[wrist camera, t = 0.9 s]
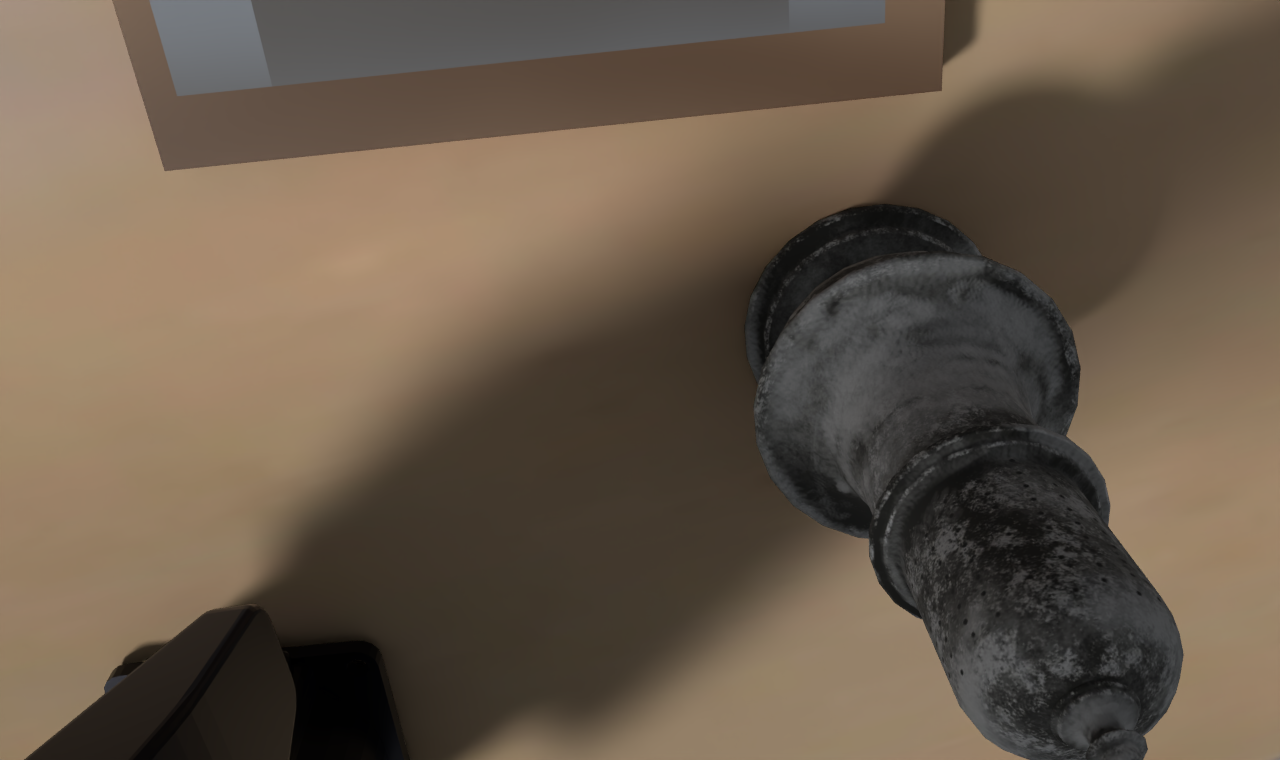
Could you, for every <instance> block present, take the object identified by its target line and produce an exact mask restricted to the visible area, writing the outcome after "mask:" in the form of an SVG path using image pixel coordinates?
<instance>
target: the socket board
mask: <svg viewBox="0 0 1280 760" xmlns="http://www.w3.org/2000/svg"><path fill="white" fill-rule="evenodd" d="M112 1H113V4H114V7H115V11H116V14H117V17H118V20H119V24H120V27H121V30H122V33H123V37H124V40H125V43H126V46H127V50H128V53H129V56H130V59H131V63H132V66H133V69H134V72H135V76H136V79H137V82H138V85H139V89H140V92H141V95H142V98H143V102H144V105H145V108H146V111H147V115H148V118H149V121H150V125H151V128H152V131H153V134H154V138H155V141H156V144H157V147H158V151H159V154H160V157H161V160H162V164H163V167H164V170H165V171H170V170H179V169H189V168H199V167H208V166H218V165H228V164H237V163H247V162H257V161H266V160H276V159H286V158H295V157H305V156H315V155H324V154H334V153H344V152H353V151H363V150H373V149H382V148H392V147H402V146H411V145H421V144H431V143H440V142H450V141H460V140H469V139H479V138H489V137H498V136H508V135H518V134H527V133H537V132H547V131H556V130H566V129H576V128H586V127H595V126H605V125H615V124H624V123H634V122H644V121H653V120H663V119H673V118H682V117H692V116H702V115H711V114H721V113H731V112H740V111H750V110H760V109H769V108H779V107H789V106H798V105H808V104H818V103H827V102H837V101H847V100H856V99H866V98H876V97H885V96H895V95H905V94H914V93H924V92H934V91H942V68H943V42H944V17H945V0H112Z"/></svg>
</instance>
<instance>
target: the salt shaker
mask: <svg viewBox="0 0 1280 760" xmlns="http://www.w3.org/2000/svg"><path fill="white" fill-rule="evenodd" d="M745 339H746V351H747V358H748V361H749V363H750V366H751V368H752V371H753V374H754V376H755V379H756V381H757V384H758V388H757V393H756V397H755V402H754V419H755V431H756V443H757V446H758V449H759V451H760V454H761V456H762V459H763V461H764V463H765V466H766V468H767V471H768V473H769V476H770V478H771V479H772V481H773V482H774V483H775V484H776V485H777V487H778V488H779V489H780V490H781V492H782V493H783V494H784V495H785V496H786V498H787V499H788V500H789V501H790V502H791V504H792V505H793V506H795V507H796V508H798V509H799V510H801V511H802V512H804V513H805V514H807V515H808V516H809V517H811V518H812V519H814V520H815V521H817V522H818V523H820V524H821V525H823V526H826V527H829V528H832V529H835V530H838V531H840V532H843V533H846V534H849V535H852V536H855V537H858V538H868V539H869V557H870V560H871V562H872V565H873V568H874V571H875V573H876V576H877V579H878V582H879V584H880V585H881V586H882V587H883V589H884V590H885V591H886V592H887V594H888V595H889V596H890V597H891V599H892V600H893V601H894V602H895V603H896V604H897V605H899V606H900V607H902V608H903V609H905V610H906V611H908V612H909V613H911V614H912V615H913V616H915V617H917V618H920V619H923V622H924V624H925V626H926V629H927V631H928V633H929V636H930V638H931V640H932V643H933V645H934V647H935V650H936V652H937V654H938V657H939V659H940V661H941V664H942V666H943V668H944V671H945V673H946V675H947V678H948V680H949V682H950V685H951V687H952V689H953V692H954V694H955V696H956V699H957V701H958V703H959V706H960V707H961V708H962V710H963V711H964V712H965V713H966V715H967V716H968V717H969V718H970V720H971V721H972V722H973V723H974V725H975V726H976V727H977V728H978V730H979V731H980V732H981V733H982V735H983V736H984V737H985V738H986V739H988V740H989V741H991V742H992V743H994V744H995V745H997V746H998V747H1000V748H1001V749H1003V750H1005V751H1007V752H1010V753H1013V754H1015V755H1018V756H1020V757H1023V758H1026V759H1030V760H1143V758H1144V756H1145V754H1146V752H1147V750H1148V748H1147V744H1146V739H1145V738H1144V737H1143V736H1144V735H1145V734H1146V733H1148V732H1149V731H1150V730H1151V729H1152V728H1153V727H1154V726H1155V725H1156V724H1157V722H1158V721H1159V720H1160V719H1161V718H1162V716H1163V715H1164V714H1165V713H1166V712H1167V710H1168V708H1169V706H1170V704H1171V701H1172V699H1173V697H1174V695H1175V693H1176V690H1177V686H1178V683H1179V679H1180V674H1181V667H1182V661H1183V649H1182V644H1181V639H1180V634H1179V631H1178V628H1177V626H1176V623H1175V620H1174V618H1173V615H1172V613H1171V612H1170V610H1169V609H1168V607H1167V606H1166V604H1165V602H1164V601H1163V599H1162V598H1161V596H1160V595H1159V593H1158V592H1157V591H1156V589H1155V588H1154V587H1153V585H1152V584H1151V583H1150V581H1149V580H1148V579H1147V578H1146V576H1145V575H1144V574H1143V572H1142V571H1141V570H1140V568H1139V567H1138V566H1137V564H1136V563H1135V562H1134V560H1133V559H1132V558H1131V556H1130V555H1129V554H1128V552H1127V551H1126V550H1125V548H1124V547H1123V546H1122V544H1121V543H1120V542H1119V540H1118V539H1117V538H1116V536H1115V535H1114V534H1113V532H1112V531H1111V530H1110V528H1109V527H1108V523H1109V513H1110V501H1109V497H1108V492H1107V488H1106V483H1105V479H1104V478H1103V476H1102V475H1101V473H1100V471H1099V470H1098V468H1097V467H1096V465H1095V463H1094V462H1093V460H1092V459H1091V457H1090V456H1089V455H1088V454H1087V453H1086V452H1085V451H1083V450H1082V449H1081V448H1080V447H1079V446H1077V445H1076V444H1075V443H1074V442H1072V441H1071V440H1070V439H1069V438H1067V437H1066V434H1067V432H1068V429H1069V426H1070V424H1071V421H1072V418H1073V416H1074V413H1075V410H1076V408H1077V404H1078V392H1079V380H1080V364H1079V359H1078V355H1077V350H1076V346H1075V341H1074V337H1073V333H1072V330H1071V329H1070V327H1069V326H1068V324H1067V322H1066V321H1065V319H1064V317H1063V316H1062V314H1061V312H1060V311H1059V309H1058V307H1057V306H1056V304H1055V303H1054V301H1053V299H1052V298H1051V297H1049V296H1048V295H1047V294H1046V293H1045V292H1043V291H1042V290H1041V289H1040V288H1039V287H1038V286H1036V285H1035V284H1034V283H1033V282H1032V281H1030V280H1029V279H1028V278H1027V277H1026V276H1025V275H1023V274H1022V273H1021V272H1019V271H1017V270H1014V269H1012V268H1010V267H1007V266H1005V265H1002V264H1000V263H998V262H995V261H993V260H991V259H988V258H986V257H984V256H982V255H981V254H980V252H979V250H978V249H977V247H976V246H975V244H974V243H973V242H972V241H971V240H970V239H969V238H968V237H967V236H965V235H964V234H963V233H962V232H961V231H959V230H958V229H957V228H956V227H955V226H954V225H952V224H951V223H950V222H949V221H947V220H945V219H942V218H940V217H938V216H935V215H933V214H930V213H928V212H926V211H923V210H921V209H919V208H911V207H904V206H896V205H888V204H882V205H874V206H866V207H858V208H850V209H848V210H845V211H843V212H840V213H838V214H835V215H832V216H830V217H827V218H825V219H822V220H819V221H817V222H816V223H814V224H813V225H811V226H810V227H808V228H807V229H806V230H804V231H803V232H801V233H800V234H798V235H797V236H795V237H794V238H793V239H791V240H790V241H788V242H787V244H786V245H785V246H784V247H783V248H782V249H781V250H780V252H779V253H778V254H777V255H776V256H775V257H774V258H773V259H772V261H771V262H770V263H769V264H768V265H767V266H766V268H765V270H764V272H763V273H762V275H761V277H760V279H759V281H758V283H757V285H756V287H755V289H754V291H753V293H752V295H751V298H750V303H749V308H748V312H747V317H746V322H745Z"/></svg>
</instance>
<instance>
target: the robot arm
mask: <svg viewBox="0 0 1280 760" xmlns="http://www.w3.org/2000/svg"><path fill="white" fill-rule="evenodd" d="M353 660H361V661H363V662H365V663H366V664H364V665H360V664H356V663H354V662H352V661H353ZM104 690H105V694H104V695H103V696H102V697H101V698H99V699H98V700H97V701H96V702H94V703H93V704H92V705H91V706H89V707H88V708H87V709H86V710H85V711H83V712H82V713H81V714H80V715H78V716H77V717H76V718H75V719H73V720H72V721H71V722H70V723H69V724H67V725H66V726H65V727H64V728H62V729H61V730H60V731H59V732H58V733H56V734H55V735H54V736H53V737H51V738H50V739H49V740H48V741H46V742H45V743H44V744H43V745H42V746H40V747H39V748H38V749H37V750H35V751H34V752H33V753H32V754H30V755H29V756H28V757H27V758H26V759H24V760H410V759H409V755H408V751H407V748H406V744H405V740H404V736H403V733H402V729H401V725H400V722H399V718H398V714H397V710H396V707H395V703H394V699H393V695H392V692H391V688H390V684H389V681H388V677H387V673H386V669H385V666H384V662H383V658H382V654H381V653H380V651H379V649H378V648H377V647H376V646H375V645H373V644H372V643H369V642H366V641H347V642H337V643H327V644H317V645H308V646H298V647H288V648H281V646H280V643H279V641H278V638H277V636H276V633H275V630H274V628H273V625H272V623H271V620H270V618H269V616H268V614H267V613H266V611H265V610H264V609H263V608H262V607H260V606H258V605H256V604H246V605H240V606H233V607H226V608H219V609H213V610H210V611H207V612H206V613H204V614H203V615H201V616H200V617H199V618H198V619H196V620H195V621H194V622H193V623H192V624H190V625H189V626H188V627H187V628H185V629H184V630H183V631H182V632H180V633H179V634H178V635H177V636H176V637H174V638H173V639H172V640H171V641H169V642H168V643H167V644H166V645H165V646H163V647H162V648H161V649H160V650H158V651H157V652H156V653H155V654H153V655H152V656H151V657H150V658H149V659H147V660H146V661H145V662H141V663H131V664H124V665H121V666H118V667H117V668H115V669H114V670H113V672H112V673H111V675H110V677H109V679H108V680H107V682H106V685H105V687H104Z"/></svg>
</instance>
